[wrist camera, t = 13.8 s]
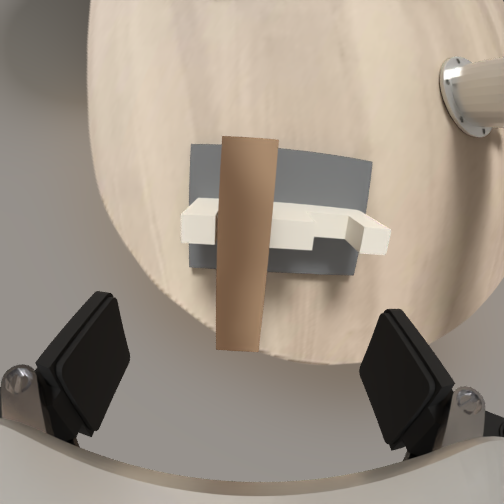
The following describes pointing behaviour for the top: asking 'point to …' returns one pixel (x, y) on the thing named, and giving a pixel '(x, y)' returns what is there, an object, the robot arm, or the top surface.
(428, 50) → the top surface
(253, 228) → the walnut plate
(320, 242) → the slotted base
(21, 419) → the robot arm
